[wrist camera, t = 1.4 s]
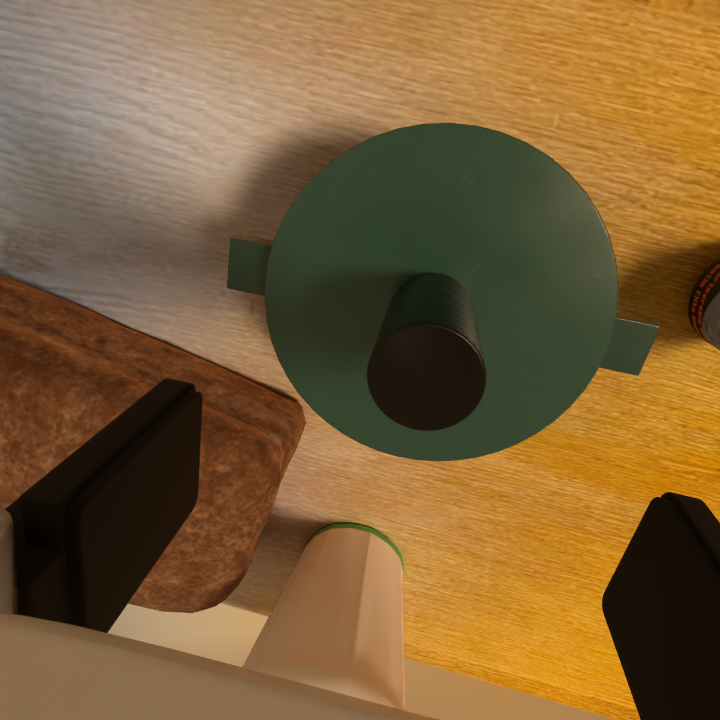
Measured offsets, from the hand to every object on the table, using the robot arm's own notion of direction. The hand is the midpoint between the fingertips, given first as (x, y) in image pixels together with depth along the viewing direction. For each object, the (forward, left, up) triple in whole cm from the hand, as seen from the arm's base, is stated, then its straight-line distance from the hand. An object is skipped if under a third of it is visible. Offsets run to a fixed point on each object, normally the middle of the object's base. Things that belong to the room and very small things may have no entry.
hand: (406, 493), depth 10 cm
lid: (0, 0, -12) cm, 12 cm away
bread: (+16, -22, -23) cm, 36 cm away
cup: (+26, -1, -23) cm, 35 cm away
